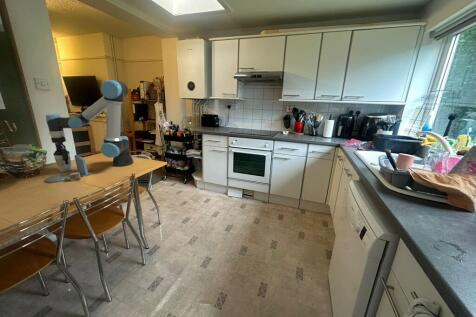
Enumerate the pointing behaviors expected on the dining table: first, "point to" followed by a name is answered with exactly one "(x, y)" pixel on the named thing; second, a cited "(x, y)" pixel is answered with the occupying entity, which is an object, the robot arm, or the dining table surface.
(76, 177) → the letter block
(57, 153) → the coffee cup
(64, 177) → the coaster
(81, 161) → the screen
